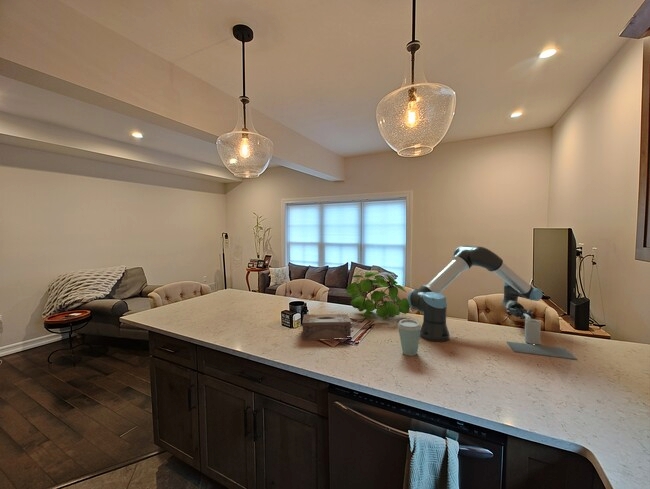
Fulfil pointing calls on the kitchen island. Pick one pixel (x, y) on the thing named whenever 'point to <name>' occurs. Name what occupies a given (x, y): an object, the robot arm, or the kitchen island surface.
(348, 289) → the indoor plant
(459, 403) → the kitchen island surface
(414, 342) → the disposable coffee cup
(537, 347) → the blue-grey rectangular board
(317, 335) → the tissue box cover
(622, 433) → the kitchen island surface
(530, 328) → the beverage can
